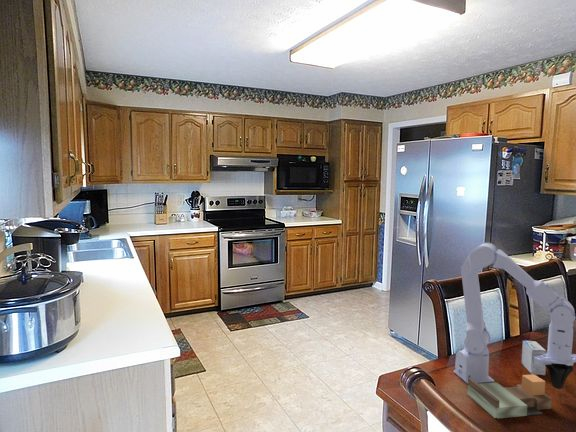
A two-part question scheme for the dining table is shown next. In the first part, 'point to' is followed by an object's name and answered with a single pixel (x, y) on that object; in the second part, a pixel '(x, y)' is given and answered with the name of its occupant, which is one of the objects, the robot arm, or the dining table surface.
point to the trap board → (507, 400)
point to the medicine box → (532, 357)
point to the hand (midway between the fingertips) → (556, 387)
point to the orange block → (533, 385)
